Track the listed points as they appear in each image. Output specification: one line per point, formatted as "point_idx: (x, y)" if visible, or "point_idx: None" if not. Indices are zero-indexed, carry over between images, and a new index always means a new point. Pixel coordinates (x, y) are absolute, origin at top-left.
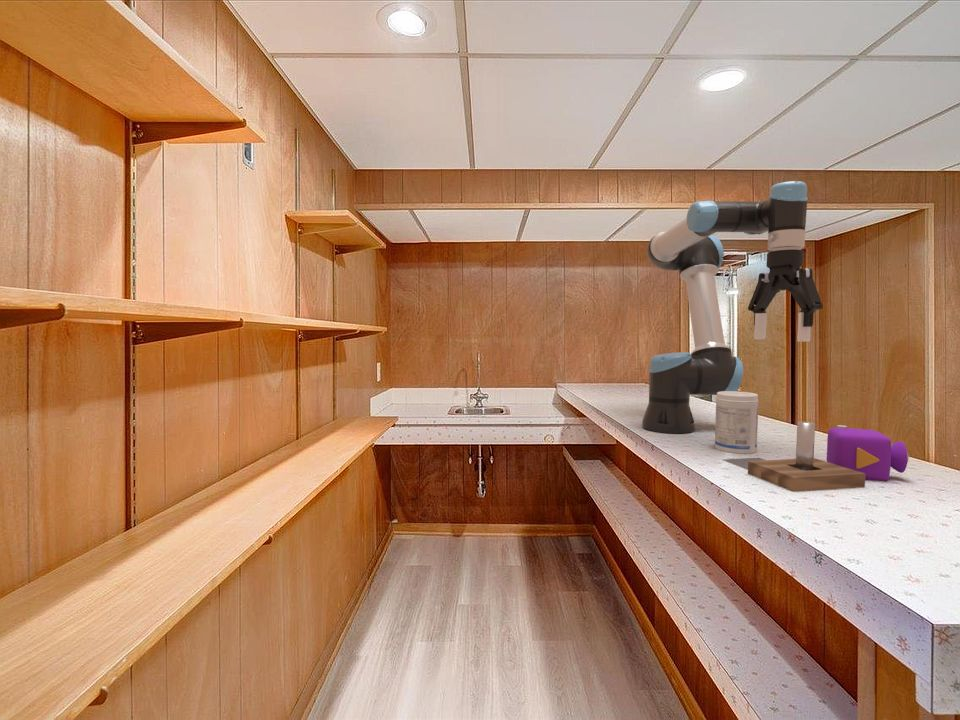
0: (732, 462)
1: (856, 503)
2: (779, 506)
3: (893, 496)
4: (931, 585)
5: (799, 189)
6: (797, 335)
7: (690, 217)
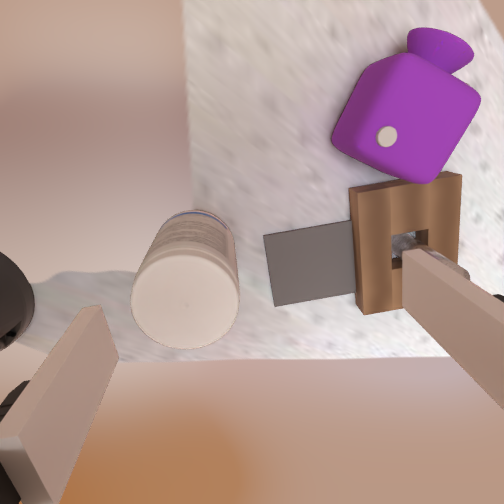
0: (294, 298)
1: (493, 232)
2: None
3: (484, 154)
4: None
5: None
6: (418, 322)
7: None
